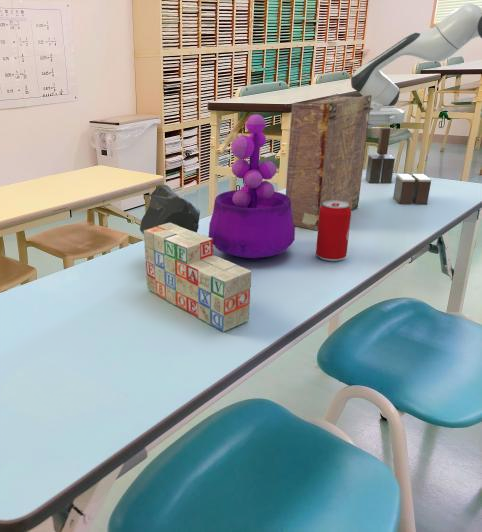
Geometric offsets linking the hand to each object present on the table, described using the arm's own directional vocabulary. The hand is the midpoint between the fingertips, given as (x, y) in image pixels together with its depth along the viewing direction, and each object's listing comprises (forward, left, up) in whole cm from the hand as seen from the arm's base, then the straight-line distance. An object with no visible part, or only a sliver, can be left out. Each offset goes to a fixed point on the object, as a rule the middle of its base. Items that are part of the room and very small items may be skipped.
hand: (376, 120), depth 175 cm
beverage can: (+45, +73, -18) cm, 88 cm away
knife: (+3, +12, -18) cm, 22 cm away
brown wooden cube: (+6, +36, -18) cm, 40 cm away
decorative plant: (+61, +67, -18) cm, 93 cm away
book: (+35, +44, -18) cm, 59 cm away
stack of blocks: (+78, +91, -18) cm, 121 cm away
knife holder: (+3, +12, -18) cm, 22 cm away
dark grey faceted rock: (+80, +73, -18) cm, 110 cm away
